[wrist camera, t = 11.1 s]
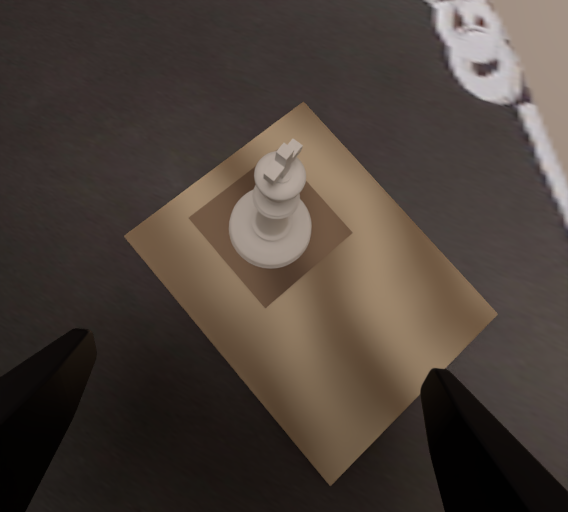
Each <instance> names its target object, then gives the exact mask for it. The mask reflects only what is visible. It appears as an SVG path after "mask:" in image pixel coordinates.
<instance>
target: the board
mask: <svg viewBox="0 0 568 512" xmlns="http://www.w3.org/2000/svg"><path fill="white" fill-rule="evenodd" d="M292 139H295V140H296V141H297V142H299V143H300V144H302V145H303V146H302V150H301V152H300V153H299V154H298V156H297V158H298V159H299V160H300V161H301V162H302V164H303V166H304V168H305V171H306V182H305V185H304V188H303V189H302V191H301V192H300V199H301V200H302V202H303V203H304V204H305V206H306V207H307V209H308V212H309V214H310V218H311V225H312V228H311V237H310V241H309V244H308V246H307V248H306V250H305V251H304V252H303V254H302V255H301V256H300V257H299V258H298V259H297V260H295V261H294V262H292V263H291V264H289V265H286V266H284V267H280V268H272V269H269V268H262V267H258V266H255V265H253V264H251V263H249V262H247V261H246V260H244V259H243V258H242V257H241V256H240V255H239V254H238V253H237V251H236V250H235V248H234V246H233V244H232V242H231V239H230V235H229V220H230V216H231V213H232V211H233V208H234V206H235V205H236V203H237V202H238V201H239V200H240V198H241V197H243V196H244V195H245V194H246V193H248V192H249V191H251V190H253V189H254V187H255V185H256V184H255V180H254V171H255V167H256V165H257V163H258V161H259V160H260V159H261V158H262V157H263V156H265V155H266V154H268V153H270V152H274V151H277V150H278V149H279V148H280V146H281V145H282V144H283V143H285V144H287V145H288V143H289V142H290V141H291V140H292ZM124 237H125V238H126V239H127V241H128V242H129V243H130V244H131V245H132V247H133V248H134V249H135V250H136V251H137V253H138V254H139V255H140V256H141V258H142V259H143V260H144V261H145V262H146V264H147V265H148V266H149V267H150V268H151V270H152V271H153V272H154V273H155V275H156V276H157V277H158V278H159V279H160V281H161V282H162V283H163V284H164V285H165V287H166V288H167V289H168V290H169V291H170V293H171V294H172V295H173V296H174V298H175V299H176V300H177V301H178V302H179V304H180V305H181V306H182V307H183V308H184V310H185V311H186V312H187V313H188V315H189V316H190V317H191V318H192V319H193V321H194V322H195V323H196V324H197V325H198V327H199V328H200V329H201V330H202V331H203V333H204V334H205V335H206V336H207V338H208V339H209V340H210V341H211V342H212V344H213V345H214V346H215V347H216V348H217V350H218V351H219V352H220V353H221V354H222V356H223V357H224V358H225V359H226V361H227V362H228V363H229V364H230V365H231V367H232V368H233V369H234V370H235V371H236V373H237V374H238V375H239V376H240V378H241V379H242V380H243V381H244V382H245V384H246V385H247V386H248V387H249V388H250V390H251V391H252V392H253V393H254V394H255V396H256V397H257V398H258V399H259V401H260V402H261V403H262V404H263V405H264V407H265V408H266V409H267V410H268V411H269V413H270V414H271V415H272V416H273V417H274V419H275V420H276V421H277V422H278V424H279V425H280V426H281V427H282V428H283V430H284V431H285V432H286V433H287V434H288V436H289V437H290V438H291V439H292V441H293V442H294V443H295V444H296V445H297V447H298V448H299V449H300V450H301V451H302V453H303V454H304V455H305V456H306V457H307V459H308V460H309V461H310V462H311V464H312V465H313V466H314V467H315V468H316V470H317V471H318V472H319V473H320V474H321V476H322V477H323V478H324V479H325V481H326V482H327V483H328V484H329V485H330V486H331V485H332V484H333V483H334V482H335V481H336V480H337V479H338V478H339V477H340V476H341V475H342V474H343V473H344V472H345V471H346V470H347V469H348V468H349V467H350V466H351V465H352V464H353V462H354V461H355V460H356V459H357V458H358V457H359V456H360V455H361V454H362V453H363V452H364V451H365V450H366V449H367V448H368V447H369V446H370V445H371V444H372V443H373V442H374V441H375V440H376V439H377V438H378V437H379V436H380V435H381V434H382V433H383V432H384V431H385V430H386V429H387V428H388V427H389V425H390V424H391V423H392V422H393V421H394V420H395V419H396V418H397V417H398V416H399V415H400V414H401V413H402V412H403V411H404V410H405V409H406V408H407V407H408V406H409V405H410V404H411V403H412V402H413V401H414V400H415V399H416V398H417V397H418V396H419V395H420V389H421V386H422V384H423V382H424V380H425V378H426V377H427V375H428V373H429V371H430V370H431V369H432V368H441V369H445V368H446V367H447V366H448V365H449V364H450V363H451V362H452V361H453V360H454V359H455V358H456V357H457V356H458V355H459V354H460V353H461V351H462V350H463V349H464V348H465V347H466V346H467V345H468V344H469V343H470V342H471V341H472V340H473V339H474V338H475V337H476V336H477V335H478V334H479V333H480V332H481V331H482V330H483V329H484V328H485V327H486V326H487V325H488V324H489V323H490V322H491V321H492V320H493V319H494V318H495V317H496V316H497V313H496V312H495V310H494V309H493V308H492V307H491V306H490V305H489V304H488V303H487V302H486V301H485V300H484V298H483V297H482V296H481V295H480V294H479V293H478V292H477V291H476V290H475V289H474V287H473V286H472V285H471V284H470V283H469V282H468V281H467V280H466V279H465V278H464V277H463V275H462V274H461V273H460V272H459V271H458V270H457V269H456V268H455V267H454V266H453V265H452V263H451V262H450V261H449V260H448V259H447V258H446V257H445V256H444V255H443V254H442V253H441V251H440V250H439V249H438V248H437V247H436V246H435V245H434V244H433V243H432V242H431V240H430V239H429V238H428V237H427V236H426V235H425V234H424V233H423V232H422V231H421V230H420V228H419V227H418V226H417V225H416V224H415V223H414V222H413V221H412V220H411V219H410V218H409V216H408V215H407V214H406V213H405V212H404V211H403V210H402V209H401V208H400V207H399V206H398V204H397V203H396V202H395V201H394V200H393V199H392V198H391V197H390V196H389V195H388V193H387V192H386V191H385V190H384V189H383V188H382V187H381V186H380V185H379V184H378V183H377V181H376V180H375V179H374V178H373V177H372V176H371V175H370V174H369V173H368V172H367V171H366V169H365V168H364V167H363V166H362V165H361V164H360V163H359V162H358V161H357V160H356V159H355V157H354V156H353V155H352V154H351V153H350V152H349V151H348V150H347V149H346V148H345V146H344V145H343V144H342V143H341V142H340V141H339V140H338V139H337V138H336V137H335V136H334V134H333V133H332V132H331V131H330V130H329V129H328V128H327V127H326V126H325V125H324V124H323V122H322V121H321V120H320V119H319V118H318V117H317V116H316V115H315V114H314V113H313V112H312V110H311V109H310V108H309V107H308V106H307V105H306V104H305V103H304V102H302V103H301V104H300V105H298V106H297V107H296V108H294V109H293V110H292V111H290V112H289V113H288V114H286V115H285V116H284V117H282V118H281V119H280V120H278V121H277V122H276V123H274V124H273V125H272V126H270V127H269V128H268V129H266V130H265V131H264V132H262V133H261V134H260V135H258V136H257V137H256V138H254V139H253V140H252V141H250V142H249V143H248V144H246V145H245V146H244V147H242V148H241V149H240V150H238V151H237V152H236V153H234V154H233V155H232V156H230V157H229V158H228V159H226V160H225V161H224V162H222V163H221V164H220V165H218V166H217V167H216V168H214V169H213V170H212V171H210V172H209V173H207V174H206V175H205V176H203V177H202V178H201V179H199V180H198V181H197V182H195V183H194V184H193V185H191V186H190V187H189V188H187V189H186V190H185V191H183V192H182V193H181V194H179V195H178V196H177V197H175V198H174V199H173V200H171V201H170V202H169V203H167V204H166V205H165V206H163V207H162V208H161V209H159V210H158V211H157V212H155V213H154V214H153V215H151V216H150V217H149V218H147V219H146V220H145V221H143V222H142V223H141V224H139V225H138V226H137V227H135V228H134V229H133V230H131V231H130V232H129V233H127V234H126V235H125V236H124Z"/></svg>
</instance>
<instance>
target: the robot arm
mask: <svg viewBox="0 0 568 512" xmlns="http://www.w3.org/2000/svg"><path fill="white" fill-rule="evenodd" d="M96 355H97V351H96V346H95V341H94V336H93V333H92V331H91V330H88V329H79V328H75V329H72V330H70V331H69V332H67V333H66V334H64V335H63V336H61V337H60V338H58V339H57V340H55V341H54V342H52V343H51V344H49V345H48V346H46V347H45V348H43V349H42V350H40V351H39V352H37V353H36V354H34V355H33V356H31V357H30V358H28V359H27V360H25V361H24V362H22V363H21V364H19V365H18V366H16V367H15V368H13V369H12V370H10V371H9V372H7V373H6V374H4V375H3V376H1V377H0V512H25V511H26V509H27V507H28V505H29V504H30V502H31V500H32V498H33V496H34V494H35V492H36V490H37V488H38V486H39V484H40V482H41V480H42V478H43V476H44V474H45V472H46V470H47V468H48V466H49V464H50V462H51V461H52V459H53V457H54V455H55V453H56V451H57V449H58V447H59V445H60V443H61V441H62V439H63V437H64V435H65V433H66V431H67V429H68V427H69V425H70V423H71V421H72V419H73V417H74V414H75V412H76V410H77V407H78V405H79V402H80V399H81V397H82V394H83V391H84V389H85V386H86V384H87V381H88V378H89V376H90V373H91V370H92V368H93V365H94V363H95V360H96ZM420 396H421V402H422V409H423V415H424V422H425V428H426V435H427V441H428V447H429V452H430V456H431V460H432V464H433V468H434V472H435V475H436V479H437V483H438V487H439V491H440V494H441V498H442V502H443V506H444V510H445V512H568V491H567V490H566V489H565V488H564V487H563V486H562V485H561V484H560V483H559V482H558V481H557V480H556V479H555V478H554V477H553V476H552V475H551V474H550V473H549V472H548V471H547V470H546V468H545V467H544V466H543V465H542V464H541V463H540V462H539V461H538V460H537V459H536V458H535V457H534V456H533V455H532V454H531V453H530V452H529V451H528V450H527V449H526V448H525V447H524V446H523V445H522V444H521V443H520V442H519V441H518V440H517V439H516V438H515V437H514V436H513V435H512V434H511V433H510V432H509V431H508V430H507V429H506V428H505V427H504V426H503V425H502V424H501V423H500V422H499V421H498V420H497V419H496V418H495V417H494V416H493V415H492V414H491V413H490V412H489V411H488V410H487V409H486V408H485V407H484V405H483V404H482V403H481V402H480V401H479V400H478V399H477V398H476V397H475V396H474V395H473V394H472V393H471V392H470V391H469V390H468V389H467V388H466V387H465V386H464V385H463V384H462V383H461V382H460V381H459V380H458V379H457V378H456V377H455V376H454V375H453V374H452V373H451V372H450V371H449V370H447V369H441V368H432V369H431V370H430V371H429V373H428V375H427V377H426V378H425V380H424V382H423V384H422V386H421V389H420Z"/></svg>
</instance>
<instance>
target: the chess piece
mask: <svg viewBox="0 0 568 512" xmlns="http://www.w3.org/2000/svg"><path fill="white" fill-rule="evenodd" d="M302 146H303V145H302V144H300V143H299V142H297V141H296V140H295V139H292V140H291V141H290V142H289V143H288V145H287V144H285V143H283V144H282V145H281V146H280V148H279V149H278V150H277V151H274V152H270V153H268V154H266V155H265V156H263V157H262V158H261V159H260V160H259V161H258V163H257V165H256V167H255V171H254V180H255V184H256V185H255V187H254V189H253V190H251V191H249V192H248V193H246V194H245V195H244V196H243V197H241V198H240V200H239V201H238V202H237V203H236V205H235V206H234V208H233V211H232V213H231V216H230V220H229V235H230V239H231V242H232V244H233V246H234V248H235V250H236V251H237V253H238V254H239V255H240V256H241V257H242V258H243V259H244V260H246V261H247V262H249V263H251V264H253V265H255V266H258V267H262V268H269V269H272V268H280V267H284V266H286V265H289V264H291V263H292V262H294V261H295V260H297V259H298V258H299V257H300V256H301V255H302V254H303V252H304V251H305V250H306V248H307V246H308V244H309V241H310V237H311V228H312V225H311V218H310V214H309V212H308V209H307V207H306V206H305V204H304V203H303V202H302V200H301V199H300V192H301V191H302V189H303V188H304V185H305V182H306V171H305V168H304V166H303V164H302V162H301V161H300V160H299V159H298V158H297V156H298V154H299V153H300V152H301V150H302Z"/></svg>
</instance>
